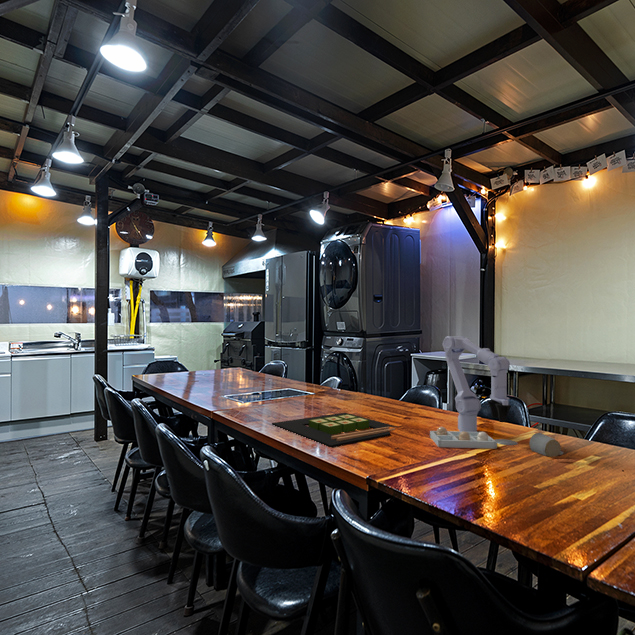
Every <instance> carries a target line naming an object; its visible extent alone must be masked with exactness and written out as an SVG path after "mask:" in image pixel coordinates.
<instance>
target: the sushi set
mask: <svg viewBox="0 0 635 635" xmlns="http://www.w3.org/2000/svg"><path fill="white" fill-rule="evenodd" d="M271 425H272V426H273V425H275V426H274V427H276V426H277V427H276V428H278V427H280V428H279V429H281V428H283V429H282V430H284V429H285V430H284V431H286V430H288V431H287V432H289V431H290V432H289V433H291V432H293V433H292V434H294V433H296V434H295V435H297V434H298V435H297V436H299V435H301V436H300V437H302V436H303V437H302V438H304V437H306V438H305V439H307V438H308V439H307V440H309V439H311V440H310V441H312V440H314V441H313V442H315V441H316V442H315V443H317V442H319V443H318V444H320V443H321V444H320V445H322V444H324V445H323V446H325V445H326V446H325V447H327V446H328V448H330V447H332V448H336V446H337V447H342V446H347V445H353V444H356V443H361V442H367V441H370V440H371V439H372V440H376V439H380V437H381V438H385V436H386V437H390V436H389V435H391V436H392V434H391V431H395V430H396V428H399V426H398V425H395V424H389V423H386V422H381V421H379V420H375V419H371V418H366V417H363V416H360V415H355V414H352V413H349V412H339V413H333V414H325V415H318V416H311V417H304V418H299V419H298V418H297V419H291V420H285V421H284V420H283V421H277V422H276V421H275V422H272V423H271ZM305 425H308V426H305ZM369 427H370V428H369ZM365 428H367V429H365ZM372 428H373V429H372ZM356 429H357V430H356ZM360 429H362V430H360ZM355 430H356V431H355ZM350 431H351V432H350ZM343 432H345V433H343ZM338 433H340V434H338ZM342 433H343V434H342ZM332 434H334V435H332ZM341 445H342V446H341Z"/></svg>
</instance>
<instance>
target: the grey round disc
mask: <svg viewBox="0 0 635 635" xmlns="http://www.w3.org/2000/svg"><path fill="white" fill-rule="evenodd" d="M494 440H495V441H496V442H497V445H498V444H499V445H503V446H517V445H518V444H519V443H518V442H517V441H515V440H511V439H505V438H498V439H494Z"/></svg>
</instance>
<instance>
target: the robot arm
mask: <svg viewBox="0 0 635 635" xmlns="http://www.w3.org/2000/svg"><path fill="white" fill-rule="evenodd" d="M442 347H443V350H444V355H445V360H446V364H447V366H448V370H449V372H450V375H451V378H452V380H453V383H454V387H455V388H456V392H457V394H456V396H455V397H454V400H455V408H456V411H457V412H458V416H457V430H458V431H460V432H463V431H465V432H478V424H477V423H478V414H479V411H480V410H481V408H482V405H481V403H482V402H481V401H480V399H478V397H477V394H476V393H474V391H472V390H471V389H470V386H469V383H468V380H467V378H466V375H465V373H464V369H463V367H462V364H461V361H460V359H459V357H460V356H462V354H463V353H464V352H465V350H466V351H468V352H470V353H471V354H474V355H475V356H476V357H477V360H478V361H480V362H482V363H483V364H485V365H486V366H488V369H489V371H490V375H491V377H490V378H491V380H490V381H491V382H490V384H491V391H490V393H491V394H489V400H486V401H487V402H486V403H487V404H488V406H489V409H490V413H491V417H492V419H498V422H499V423H506V421H507V417H508V415H509V412H510V410H511V409H512V405H510V404H509V400H510V397H508V396H507V384H508V382H507V378H508V377H507V374H508V373H507V372H508V370H510V366H511V365H510V364H511V362H510V361H509V359H508V358H507V357H506V356H499V354H498V353H494V352H493V351H491V349H490V348H488V347H487V348H486V347H483V348H481V347H479V345H477V344H475V343H474V342H472V341H471V340H469V338H468V337H466V336H464V335H460V336H458V335H456V336H453V335H452V336H451V335H447V336H445V337H444V339H443V341H442Z"/></svg>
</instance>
